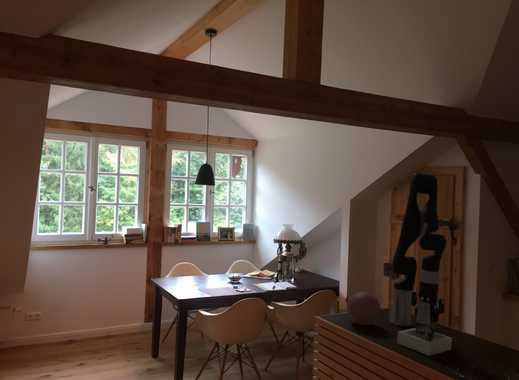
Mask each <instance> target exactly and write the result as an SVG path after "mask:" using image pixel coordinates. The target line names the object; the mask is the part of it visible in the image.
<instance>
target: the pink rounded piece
mask: <svg viewBox="0 0 519 380" xmlns="http://www.w3.org/2000/svg"><path fill="white" fill-rule="evenodd" d="M344 301H345V303H347V307H346V308H347V309H346V310H347V314H348V315H349V318H350V319H351V320H352V321H353V322H354V323H356V324H357V325H360V326H371V325H373V324H374V323H376V322H377V321H378V319H379V318H380V315H381V310H382V307H381V304H380V302H379V300H378V298H376V296H375V295H373V294H371V293H370V292H366V291H359V292H357V293H354V294H353V295H351V297H349V296H346V297H345V299H344Z"/></svg>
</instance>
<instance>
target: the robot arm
mask: <svg viewBox="0 0 519 380" xmlns="http://www.w3.org/2000/svg"><path fill="white" fill-rule="evenodd" d="M438 186H439V185H438V179H437V177H436V176H435V175H434V174H428V173H421V172H415V173H413V174H412V177H411V179H410V183H409V191H408V195H407V203H406V208H405V212H404V216H403V219H402V225H401V228H400V234H399V238H398V242H397V246H396V249H395V251H394V254H393V255H394V256H393V258H392V262H391V270H392V273H393V274H395V275H398V276H399V275H400V276H403V277H402V278H401V279H398V280H395V281H394V282H393V292H392V302H390V305H389V306H390V307H389V320H388V322H389V323H391V324H393V325H395V326H399V327H410V326H411V323H412V322H411V321H412V310H413V307H414V316H415V317H414V318H417V307H418V299H419V300H422V301H428V302H430V303H436V302H437V303H436V305H435V307H434V317H433V323H435V324H437V323H438V322H439V321H440V315H441V314H444V313H445V304H446V303H445V302H446V299H445V298H440V297H438V296H439V295H438V294H439V286H440V285H439V284H440V266H441V265H440V264H441V260H442V257H443V254H444V252H445V248H446V247H447V239H446V237H445V235H443V234H441V233H440V234H437V233H436V232H438V231H439V229H440V223H439V217H438V191H439V190H438ZM418 194H425V195H428V200H427V201H426V203H425V205H424V206H423V207H422V209H420V207H419V204H418ZM418 239H419V241H418V245H419V247H420V249H422V250H423V251H433V254H429V255H424V256H423V257H422V258H421V266H420V268H421V269H420V270H421V271H420V275H419V288H418V291H414V287H415V284H416V275H417V269H418V263H417V262H418V261H417V259H416V258H415V257H414V256H410V255H409V256H408V255H406V253H407V252H408V250H409V248H410V247H411V246H412V245H413V244H414V243H415V242H416V241H417V240H418Z"/></svg>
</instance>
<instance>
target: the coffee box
mask: <svg viewBox="0 0 519 380" xmlns="http://www.w3.org/2000/svg"><path fill="white" fill-rule="evenodd" d="M417 302H418V307H417V317H415V318H416V321H415V328H416V329H415V337H418V338H420V339H423V340H426V341H432V340H433V339H434V334H435V332H436V323H433V317H434V307H435V305H436V303H437V304H438V301H437V302H436V303H430V302H428V301H422V300H420V299H419V300H417Z"/></svg>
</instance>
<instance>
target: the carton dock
mask: <svg viewBox="0 0 519 380" xmlns="http://www.w3.org/2000/svg"><path fill="white" fill-rule="evenodd" d="M415 329H416V327H414V328H409V329H405V330H400V331H397V338H396V341H397V342H396V344H398V345H399V346H402V347H406V348H408V349H410V348H411V350H413V351H415V350H416V352H418V353H421V354H423V355H426V356H428V357H429V356H433V355H437V354H440V353H444V352H447V351H452V343H453V342H452V341H453V337H450V336H447V335H445V334H442V333H439V332H436V331H435V334H434V339H433V340H432V341H426V340H423V339H420V338H418V337H415Z"/></svg>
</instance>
